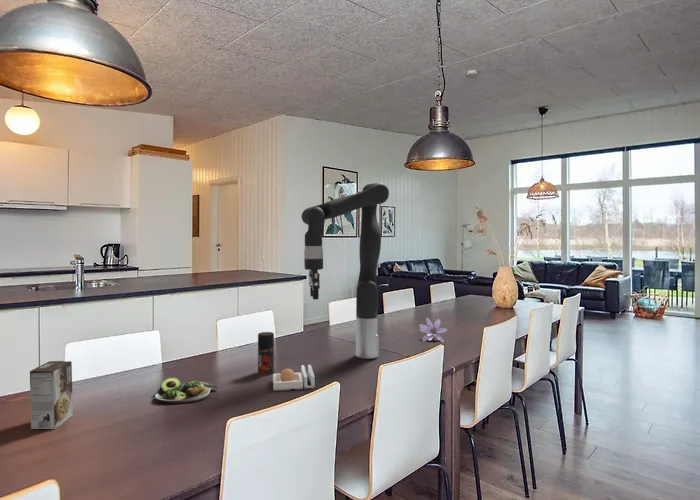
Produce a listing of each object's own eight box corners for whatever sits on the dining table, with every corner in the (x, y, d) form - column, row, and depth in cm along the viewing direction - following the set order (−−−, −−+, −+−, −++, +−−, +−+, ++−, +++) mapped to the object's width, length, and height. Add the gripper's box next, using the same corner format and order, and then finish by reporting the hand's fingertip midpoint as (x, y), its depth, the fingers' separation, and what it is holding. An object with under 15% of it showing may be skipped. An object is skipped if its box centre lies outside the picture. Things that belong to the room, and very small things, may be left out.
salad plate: (220, 383, 154) (220, 370, 154) (216, 402, 137) (216, 387, 137) (162, 387, 150) (162, 374, 150) (150, 407, 132) (150, 392, 132)
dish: (300, 379, 158) (300, 372, 158) (302, 389, 148) (303, 381, 148) (272, 381, 156) (272, 373, 156) (273, 390, 146) (273, 383, 146)
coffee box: (50, 416, 124) (49, 360, 124) (73, 415, 125) (72, 360, 124) (29, 430, 115) (28, 370, 115) (54, 429, 116) (54, 370, 115)
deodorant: (276, 371, 167) (276, 332, 167) (268, 376, 162) (268, 336, 161) (263, 369, 169) (263, 331, 169) (255, 374, 163) (255, 334, 163)
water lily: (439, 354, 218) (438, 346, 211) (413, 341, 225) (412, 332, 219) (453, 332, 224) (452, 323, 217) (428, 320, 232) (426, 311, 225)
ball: (294, 380, 155) (294, 366, 155) (295, 385, 150) (295, 370, 150) (280, 380, 154) (280, 367, 154) (280, 385, 149) (280, 371, 149)
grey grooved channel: (310, 375, 162) (310, 364, 162) (314, 388, 149) (314, 376, 149) (301, 375, 162) (301, 365, 162) (304, 388, 148) (304, 377, 148)
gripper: (325, 258, 167) (326, 300, 167) (320, 256, 181) (321, 295, 181) (306, 258, 165) (306, 300, 166) (302, 256, 179) (303, 295, 180)
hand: (314, 297), depth 173 cm, fingers open, 8 cm apart
